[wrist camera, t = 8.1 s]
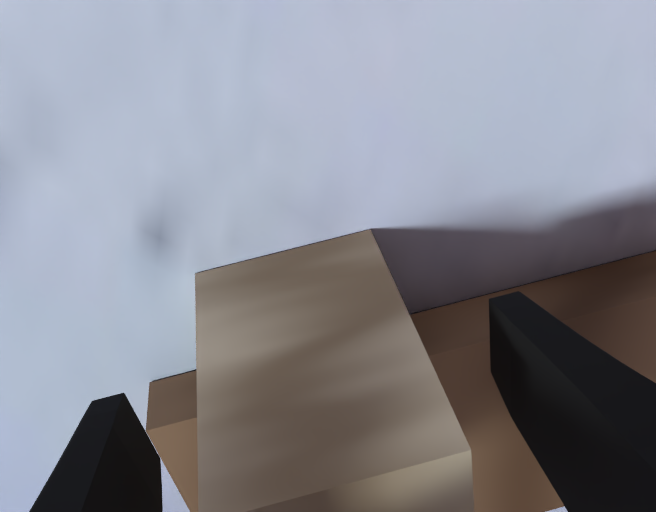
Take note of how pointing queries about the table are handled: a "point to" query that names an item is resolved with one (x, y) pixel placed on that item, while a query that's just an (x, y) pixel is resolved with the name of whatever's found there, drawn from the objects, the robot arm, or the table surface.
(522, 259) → the table surface
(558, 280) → the walnut board
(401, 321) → the marking gauge
